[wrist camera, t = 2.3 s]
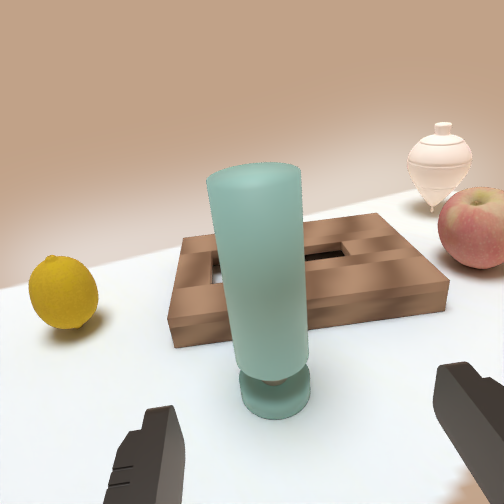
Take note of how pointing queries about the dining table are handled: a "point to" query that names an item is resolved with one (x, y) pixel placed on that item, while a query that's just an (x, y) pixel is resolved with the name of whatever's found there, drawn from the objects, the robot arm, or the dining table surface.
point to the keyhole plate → (317, 280)
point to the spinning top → (439, 164)
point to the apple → (474, 227)
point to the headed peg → (264, 282)
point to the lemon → (63, 292)
